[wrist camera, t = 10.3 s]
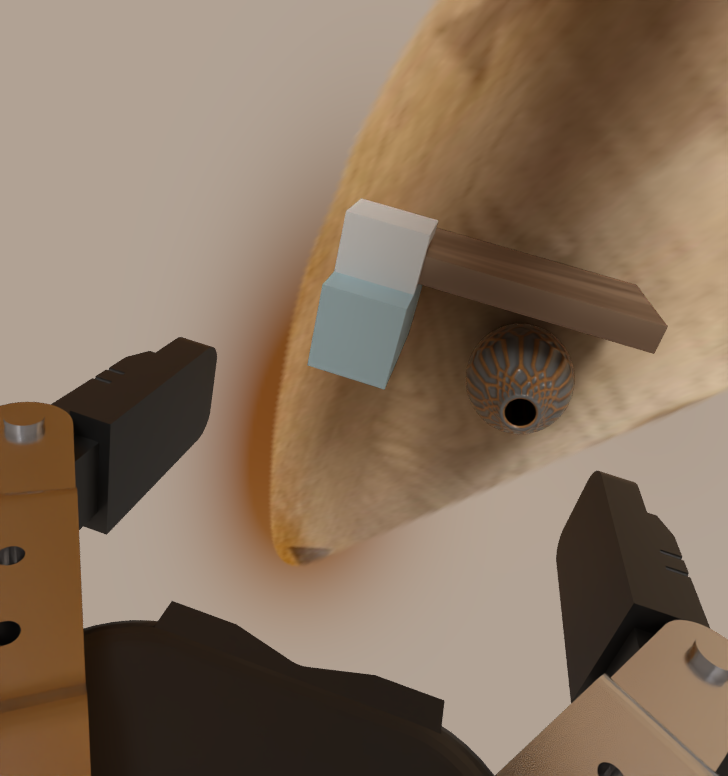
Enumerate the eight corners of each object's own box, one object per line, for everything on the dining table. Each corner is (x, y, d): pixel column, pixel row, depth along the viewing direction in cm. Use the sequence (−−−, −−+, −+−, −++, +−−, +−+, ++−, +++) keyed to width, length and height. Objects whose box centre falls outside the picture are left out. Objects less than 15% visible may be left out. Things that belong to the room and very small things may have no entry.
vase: (449, 350, 43) (436, 402, 35) (529, 292, 40) (534, 334, 32) (508, 418, 44) (507, 483, 36) (589, 367, 41) (607, 425, 33)
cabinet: (371, 190, 36) (334, 220, 29) (443, 210, 35) (424, 246, 29) (342, 323, 41) (305, 377, 34) (405, 343, 40) (381, 401, 33)
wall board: (387, 213, 40) (358, 236, 32) (636, 285, 38) (667, 326, 31) (381, 236, 41) (352, 264, 33) (626, 307, 39) (654, 353, 31)
